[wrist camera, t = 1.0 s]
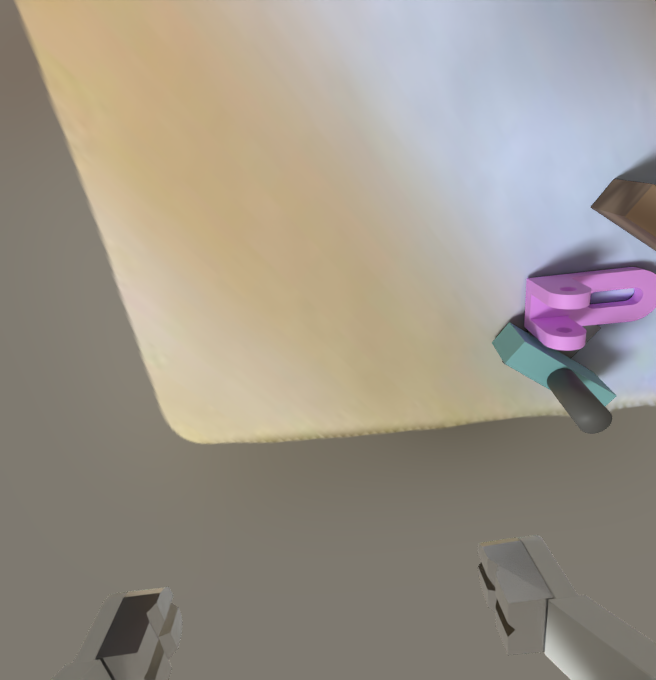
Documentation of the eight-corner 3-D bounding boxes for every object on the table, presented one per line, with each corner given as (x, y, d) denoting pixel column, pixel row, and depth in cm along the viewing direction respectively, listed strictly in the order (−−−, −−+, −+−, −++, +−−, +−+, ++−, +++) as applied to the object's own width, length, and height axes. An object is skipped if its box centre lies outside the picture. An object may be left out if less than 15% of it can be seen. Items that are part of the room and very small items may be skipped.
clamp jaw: (509, 322, 45) (553, 377, 34) (592, 372, 47) (660, 439, 36) (491, 342, 46) (528, 402, 35) (573, 390, 48) (633, 461, 37)
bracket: (524, 326, 45) (551, 352, 39) (526, 278, 43) (556, 296, 37) (648, 314, 44) (699, 339, 37) (657, 263, 42) (712, 280, 35)
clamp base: (614, 178, 39) (653, 184, 33) (721, 252, 41) (774, 268, 35) (474, 345, 47) (488, 370, 42) (568, 399, 49) (592, 430, 44)
